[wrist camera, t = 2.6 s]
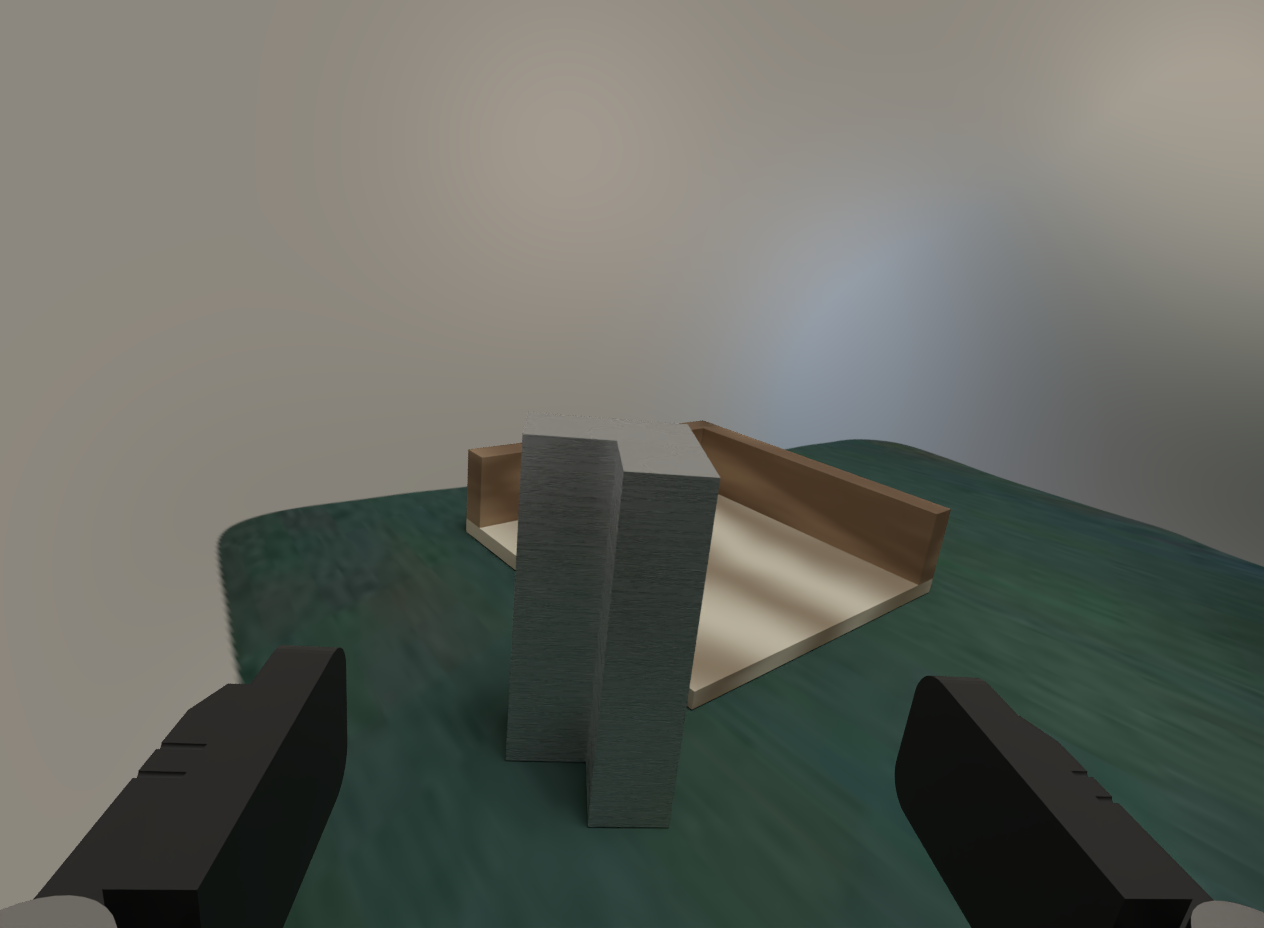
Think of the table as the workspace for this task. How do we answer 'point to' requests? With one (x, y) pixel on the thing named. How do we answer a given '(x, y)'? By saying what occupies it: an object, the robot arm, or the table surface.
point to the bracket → (609, 604)
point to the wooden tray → (765, 551)
